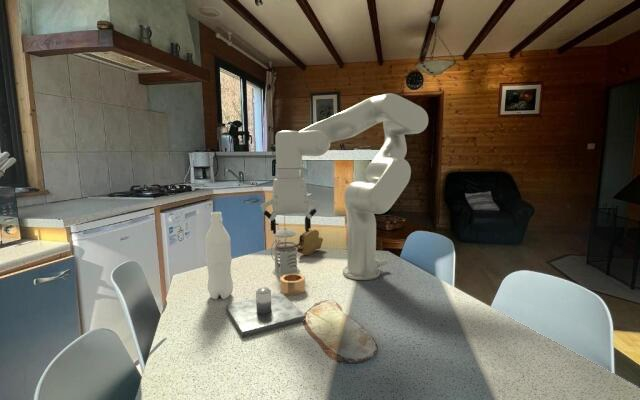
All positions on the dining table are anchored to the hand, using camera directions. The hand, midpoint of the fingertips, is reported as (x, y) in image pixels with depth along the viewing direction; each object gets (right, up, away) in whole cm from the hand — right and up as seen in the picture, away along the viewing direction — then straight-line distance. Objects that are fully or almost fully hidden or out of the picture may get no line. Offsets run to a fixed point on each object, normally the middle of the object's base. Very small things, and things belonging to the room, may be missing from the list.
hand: (290, 232), depth 104 cm
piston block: (-6, -20, -13) cm, 25 cm away
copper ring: (0, -18, +3) cm, 18 cm away
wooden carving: (+4, -13, +40) cm, 42 cm away
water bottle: (-21, -19, 0) cm, 28 cm away
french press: (-4, -16, +19) cm, 25 cm away
